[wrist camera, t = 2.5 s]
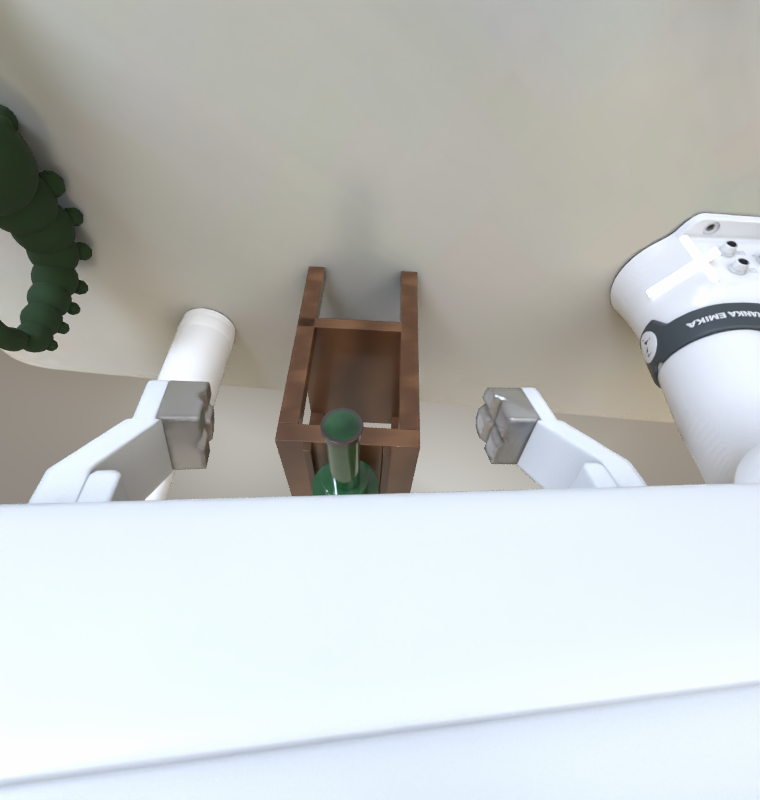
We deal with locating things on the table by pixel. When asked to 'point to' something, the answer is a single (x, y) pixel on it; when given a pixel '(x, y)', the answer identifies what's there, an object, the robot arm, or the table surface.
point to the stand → (353, 389)
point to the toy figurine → (38, 242)
